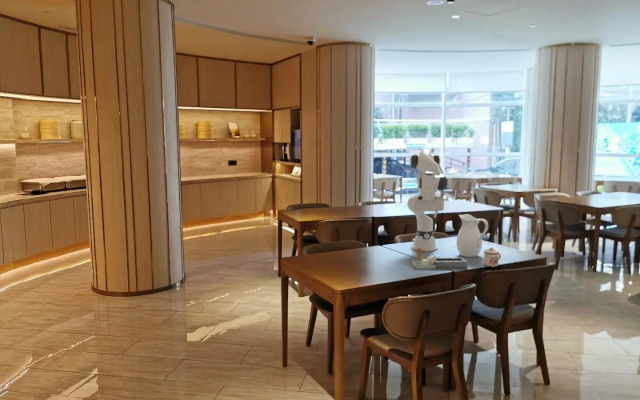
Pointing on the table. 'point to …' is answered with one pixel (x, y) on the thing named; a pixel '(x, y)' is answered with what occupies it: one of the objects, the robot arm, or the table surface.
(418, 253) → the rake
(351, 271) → the table surface
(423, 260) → the cream block
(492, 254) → the teacup with lid
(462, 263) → the grooved board
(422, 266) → the tray
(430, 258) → the cream block
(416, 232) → the robot arm
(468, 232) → the pitcher
